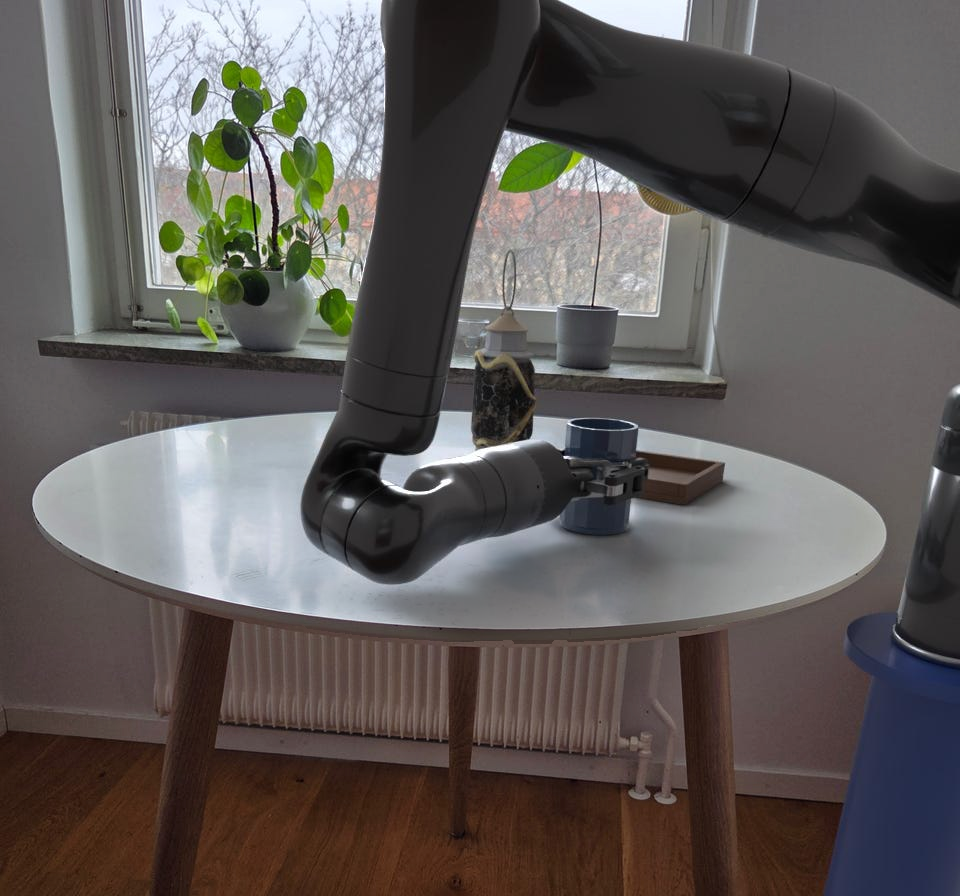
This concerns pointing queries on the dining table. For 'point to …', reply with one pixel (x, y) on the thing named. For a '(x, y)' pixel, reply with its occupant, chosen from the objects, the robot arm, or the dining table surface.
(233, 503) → the dining table surface
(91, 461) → the dining table surface
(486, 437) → the lantern
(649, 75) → the robot arm
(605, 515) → the cup
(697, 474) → the tray
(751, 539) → the dining table surface
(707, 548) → the dining table surface
